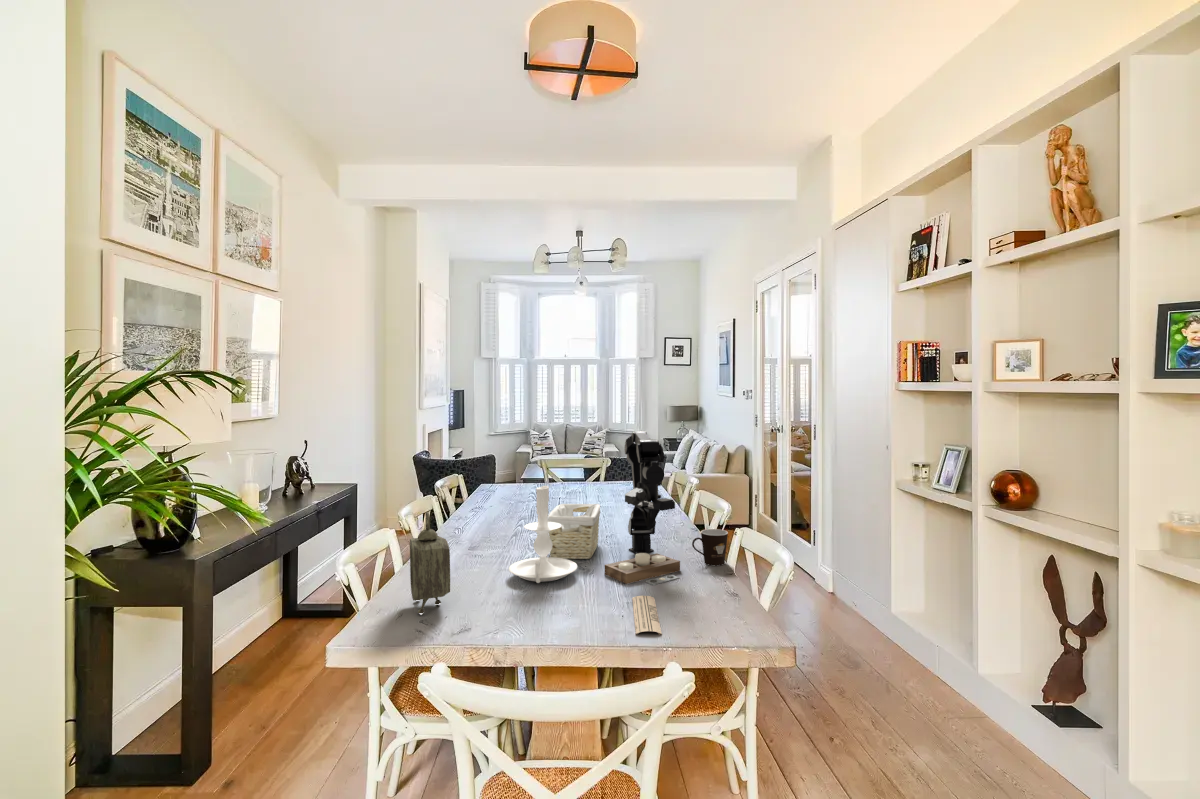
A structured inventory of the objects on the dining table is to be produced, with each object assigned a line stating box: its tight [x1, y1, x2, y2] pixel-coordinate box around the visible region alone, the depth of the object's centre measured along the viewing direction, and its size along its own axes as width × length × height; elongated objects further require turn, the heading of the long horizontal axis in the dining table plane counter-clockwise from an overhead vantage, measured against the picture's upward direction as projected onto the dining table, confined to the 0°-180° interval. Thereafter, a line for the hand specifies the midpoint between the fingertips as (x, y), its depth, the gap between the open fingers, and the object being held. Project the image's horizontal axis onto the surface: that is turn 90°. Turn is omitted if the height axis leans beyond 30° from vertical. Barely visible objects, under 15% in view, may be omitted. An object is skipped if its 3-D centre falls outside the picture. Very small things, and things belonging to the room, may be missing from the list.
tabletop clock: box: [409, 511, 451, 614], centre depth 158 cm, size 14×9×25 cm, turn 21°
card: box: [644, 574, 680, 586], centre depth 179 cm, size 4×10×1 cm, turn 125°
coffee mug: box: [691, 528, 729, 567], centre depth 196 cm, size 12×9×10 cm
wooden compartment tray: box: [604, 552, 681, 585], centre depth 186 cm, size 11×21×3 cm, turn 125°
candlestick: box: [508, 485, 578, 584], centre depth 180 cm, size 21×25×28 cm
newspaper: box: [631, 595, 662, 636], centre depth 151 cm, size 24×7×2 cm, turn 179°
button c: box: [652, 554, 667, 563], centre depth 190 cm, size 4×4×3 cm
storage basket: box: [548, 503, 601, 560], centre depth 211 cm, size 24×16×15 cm
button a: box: [619, 562, 633, 571], centre depth 182 cm, size 4×4×3 cm
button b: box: [634, 553, 651, 567], centre depth 186 cm, size 4×4×3 cm
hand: (649, 527), depth 194 cm, fingers closed
